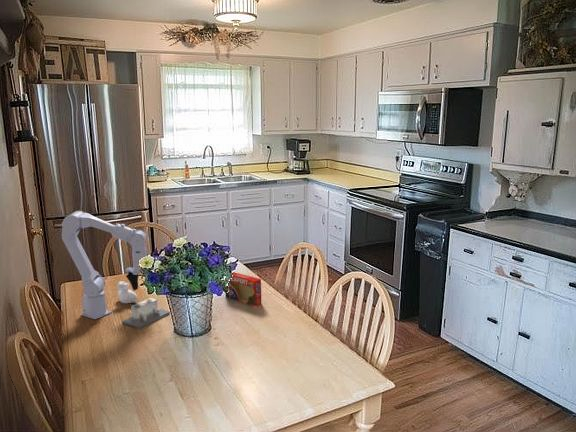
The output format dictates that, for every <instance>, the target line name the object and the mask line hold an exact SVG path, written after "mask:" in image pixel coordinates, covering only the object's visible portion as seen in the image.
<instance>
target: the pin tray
mask: <svg viewBox="0 0 576 432" xmlns="http://www.w3.org/2000/svg"><path fill="white" fill-rule="evenodd" d="M170 314H171V313H170V311H169V310H165V309H163V308H160V307H158V309H157V314H156V315H153V316H151V317H149V318H146V315H143V321H141V322H136V321H133V320H132V316H129V317H128V318H125V319H123V320H122V321H121V322H122V324H124V325H127V326H129V327H132V328H135V329H138V330H140V329H142V328H144V327H146V326H149V325H150V324H152V323H154V322H156V321H158V320H160V319H163V318H164V317H167V316H168V315H170Z"/></svg>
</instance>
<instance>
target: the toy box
mask: <svg viewBox="0 0 576 432" xmlns="http://www.w3.org/2000/svg"><path fill="white" fill-rule="evenodd" d="M232 272H233V278H232V279H230V281H229V283H228V286H229V292H228V293H226V292H225V298H226V299H229V300H232V301H235V302H238V303H242V304H245V305H249V306H252V307H254V306H255V308H257V307H259V306H260V305H262V279H261V278H259V277H258V278H257V277H253V276H250V275H247V274H242V273H239V272H235V271H232Z"/></svg>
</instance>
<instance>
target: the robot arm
mask: <svg viewBox="0 0 576 432" xmlns="http://www.w3.org/2000/svg"><path fill="white" fill-rule="evenodd" d="M61 226H62V228H61V240H62V242H63V243H64V245H65V248H66V249H67V251H68V253H69V255H70V257H71V259H72V261H73V262H74V264H75V267H76V268H77V271H78V272H79V275H80V277H81V285H82V287H83V288H82V289H83V290H82V291H83V295H82V297H81V306H82V313H80V315H81V316H83V317H87V318H89V319H92V320H97V319H99V318H102V317H104V316H107V315H109V314H112V311H111V310H107V305H106V304H107V301H106V294H105V293H106V292H105V290H104V287H105V286H106V280H105V278H104V277H103V276H101V274H100V273H99V272H98V271H97V270H95V269H94V267H93V265H92V263H91V261H90V259H89V257H88V255H87V253H86V251H85V249H84V247H83V245H82V243H81V241H80V240H79V237H78V235H79V233H80V231H81V229H86V228H90V227H92V228H95V229H97V230H101V231H104V232H107V233H111V236H112V237H113V238H114V239H115V238H116V239H117V240H121V241H122V242H126V243H129V245H130V246H131V255H132V265H133V266H132V267H127V268H125V274H126V275H125V276H126V278H127V280H128V282H129V284H130V285H131V288H132V290H133V292H135V291H137V290H139V289H138V288H139V275H140V271H139V267H138V262H139V260H140V259H141V258H143V257H145V256H147V257H148V252H147V251H148V250H147V244H146V241H147V237H148V236H147V234H146V232H144V231H143V230H141V229H136V228H131V227H128V226H126V225H125V224H124V223H119V224H112V223H111V222H108V221H106V220H103V219H101V218H99V217H96V216H94V215H92V214H90V213H88V212H84V211H83V210H76V211H74V212H73V213H71V214H68V215H67V216H65V217H64V219H63V220H62V222H61Z"/></svg>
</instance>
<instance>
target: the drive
mask: <svg viewBox="0 0 576 432" xmlns="http://www.w3.org/2000/svg"><path fill="white" fill-rule="evenodd" d="M158 308H159V305H158V299H156V298H152V297H149V298H147V299H144V300H142V301H140V302H138V303H137V302H136V303H135V304H133V305H131V306H130V311H131V317H132V320H133V321H136V322H141V321H143V315H146V318H149V317H151V316H153V315H156V314H157V309H158Z"/></svg>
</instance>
